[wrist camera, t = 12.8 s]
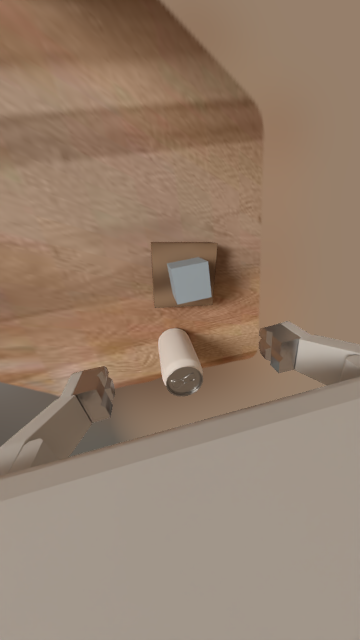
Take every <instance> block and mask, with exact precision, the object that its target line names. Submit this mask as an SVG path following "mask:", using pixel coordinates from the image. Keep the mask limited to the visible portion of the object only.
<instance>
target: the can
mask: <svg viewBox="0 0 360 640" xmlns="http://www.w3.org/2000/svg"><path fill="white" fill-rule="evenodd" d="M158 347H159V356H160V364H161V372H162V378H163V382H164V384H165V385H166V387H167V389H168V391H169V392H170V393H171V394H173V395H176V396H188V395H191V394H193V393H194V392H196V391H197V390H198V389H199V388H200V387H201V385H202V382H203V376H202V373H203V371H202V367H201V364H200V362H199V359H198V357H197V355H196V352H195V350H194V348H193V345H192V343H191V341H190V338H189V336H188V334H187V333H186V332H185V331H183V330H181V329H178V328H172V329H169V330H166V331H165V332H164V333H162V335H161V336H160V338H159V341H158Z"/></svg>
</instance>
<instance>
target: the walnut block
mask: <svg viewBox="0 0 360 640" xmlns="http://www.w3.org/2000/svg"><path fill="white" fill-rule="evenodd" d="M217 245H218V243H212V242H151V256H152V275H153V295H154V306H155V308H164V307H184V306H203V305H212V303H213V291H214V280H215V268H216V256H217ZM196 257H199V258H202V259H204V260H206V261H208V265H209V275H210V285H211V295H212V297H210V298H205V299H201V300H196V301H192V302H187V303H183V304H178V305H177V302H176V300H175V298H174V296H173V292H172V287H171V282H170V277H169V272H168V267H167V263H172V262H177V261H181V260H186V259H191V258H196Z"/></svg>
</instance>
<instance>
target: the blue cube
mask: <svg viewBox="0 0 360 640" xmlns="http://www.w3.org/2000/svg"><path fill="white" fill-rule="evenodd" d="M167 267H168V272H169V277H170V282H171V287H172V292H173V296H174V298H175V300H176V302H177V305H178V304H183V303H187V302H192V301H196V300H201V299H205V298H210V297H212V295H211V285H210V275H209V265H208V261H206V260H204V259H202V258H199V257H196V258H191V259H186V260H181V261H177V262H172V263H167Z"/></svg>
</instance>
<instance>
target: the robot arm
mask: <svg viewBox="0 0 360 640" xmlns="http://www.w3.org/2000/svg"><path fill="white" fill-rule="evenodd" d="M259 336H260V337H261V338H262V339H261V340H260V342H259V349H260V353H261V354H262V356H263V357H264V358H265V359H266V360H269V361H271V363H270V365H271V366H272V367H273V368H274V369H275V370H276V371H277V372H278V373H281V372H285V371H289V370H294V369H295V370H296V371H298V372H300V373H302V374H304V375H306V376H308V377H310V378H313V379H315V380H317V381H319V382H321V383H323V384H325V385H327V386H324V387H320V388H317V389H313V390H310V391H306V392H303V393H299V394H295V395H292V396H288V397H284V398H281V399H277V400H274V401H270V402H266V403H263V404H259V405H255V406H251V407H248V408H244V409H241V410H237V411H233V412H230V413H226V414H223V415H219V416H215V417H212V418H208V419H204V420H201V421H198V422H194V423H190V424H187V425H183V426H179V427H176V428H172V429H168V430H165V431H161V432H158V433H154V434H151V435H147V436H143V437H140V438H136V439H132V440H129V441H125V442H121V443H118V444H114V445H111V446H107V447H103V448H100V449H96V450H93V451H89V452H85V453H82V454H78V455H74V456H71V457H69V456H70V454H71V453H72V452H73V450H74V449H75V447H76V446H77V445H78V443H79V442H80V440H81V439H82V438H83V436H84V435H85V433H86V432H87V430H88V429H89V428H90V426H91V425H92V423H94V422H97V421H100V420H104V419H107V418H110V417H111V412H112V406H113V405H112V403H111V401H112V399H113V398H114V395H115V389H114V384H113V381H112V379H111V378H109V377H108V373H109V372H108V370H107V368H106V367H105V366H102V367H98V368H93V369H89V370H84V371H80V372H76V373H73V374H72V375H71V376H70V378H69V380H68V382H67V384H66V386H65V388H64V390H63V392H62V394H61V396H60V398H59V399H57V400H55V401H54V402H53V403H52V404H50V405H49V406H48V407H47V408H46V409H45V410H43V411H42V412H41V413H40V414H39V415H37V417H35V418H34V419H33V420H32V421H30V422H29V423H28V424H27V425H26V426H25V427H24V428H22V429H21V430H20V431H19V432H18V433H17V434H15V435H14V436H13V437H12V438H11V439H10V440H8V441H7V442H6V443H5V444H4V445H2V446H1V447H0V640H360V345H359V344H355V343H350V342H346V341H341V340H336V339H332V338H327V337H323V336H318V335H310V334H309V333H307V332H306V331H304V330H302V329H301V328H299V327H298V326H296V325H294V324H293V323H291V322H288V321H286V322H283V323H279V324H276V325H273V326H268V327H265V328H261V329H260V331H259Z"/></svg>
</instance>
